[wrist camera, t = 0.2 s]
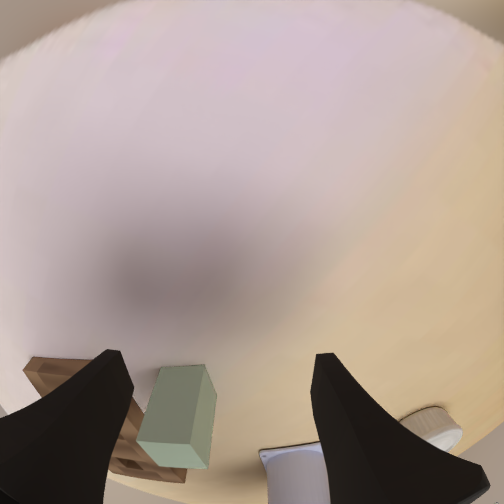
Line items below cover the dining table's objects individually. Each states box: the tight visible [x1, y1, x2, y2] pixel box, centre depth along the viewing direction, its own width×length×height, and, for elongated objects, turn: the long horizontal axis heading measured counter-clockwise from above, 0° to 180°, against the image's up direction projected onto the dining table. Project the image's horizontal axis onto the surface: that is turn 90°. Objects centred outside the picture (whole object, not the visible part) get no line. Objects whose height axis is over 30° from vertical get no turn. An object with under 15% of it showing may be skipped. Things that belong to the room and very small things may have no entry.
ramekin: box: [399, 407, 463, 453], centre depth 25 cm, size 11×11×5 cm
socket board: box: [23, 357, 187, 483], centre depth 25 cm, size 22×12×2 cm, turn 10°
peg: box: [136, 365, 217, 469], centre depth 19 cm, size 4×4×8 cm
